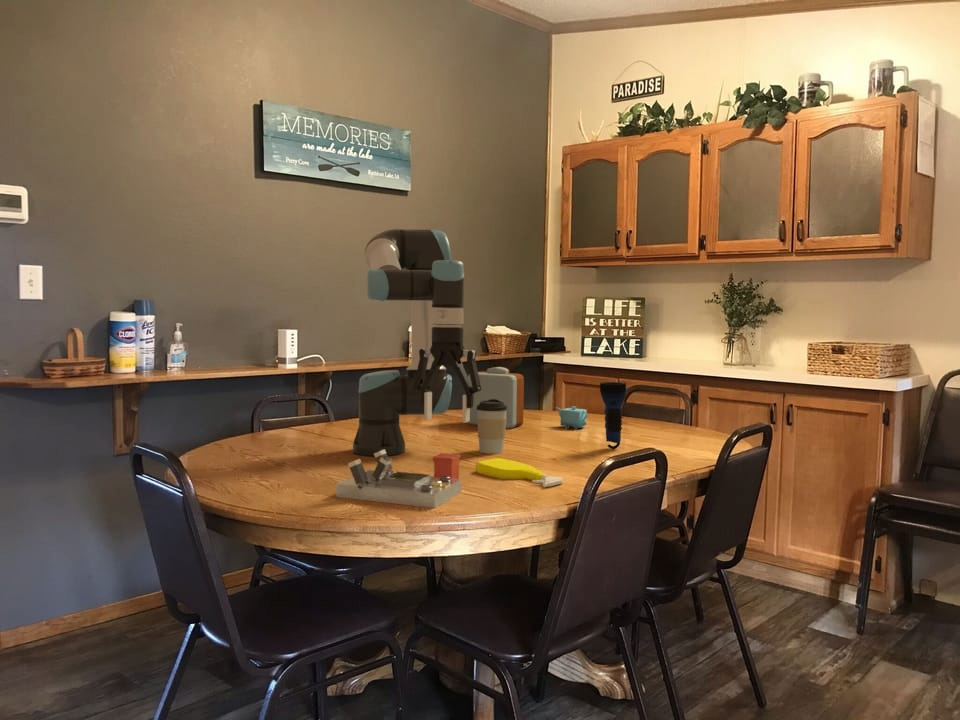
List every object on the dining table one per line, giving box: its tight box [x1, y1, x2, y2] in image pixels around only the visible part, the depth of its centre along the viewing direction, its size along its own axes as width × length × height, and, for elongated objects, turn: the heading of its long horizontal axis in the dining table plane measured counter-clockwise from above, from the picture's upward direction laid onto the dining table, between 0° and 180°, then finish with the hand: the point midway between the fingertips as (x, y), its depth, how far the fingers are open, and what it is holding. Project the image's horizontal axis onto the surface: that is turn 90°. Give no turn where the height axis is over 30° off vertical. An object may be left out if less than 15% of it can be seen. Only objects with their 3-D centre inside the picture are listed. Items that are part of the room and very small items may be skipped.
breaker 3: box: [372, 455, 393, 480], centre depth 178 cm, size 2×2×5 cm
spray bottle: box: [474, 457, 563, 488], centre depth 196 cm, size 3×11×24 cm
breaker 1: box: [347, 458, 368, 484], centre depth 174 cm, size 2×2×5 cm
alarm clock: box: [467, 366, 525, 429], centre depth 276 cm, size 18×9×21 cm, turn 58°
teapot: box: [556, 406, 588, 430], centre depth 273 cm, size 12×6×8 cm, turn 60°
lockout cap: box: [432, 452, 461, 479], centre depth 187 cm, size 5×5×7 cm
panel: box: [335, 469, 462, 509], centre depth 177 cm, size 24×15×4 cm, turn 69°
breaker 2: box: [373, 449, 393, 472], centre depth 185 cm, size 2×2×5 cm
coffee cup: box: [477, 399, 507, 455], centre depth 228 cm, size 9×9×15 cm
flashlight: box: [599, 381, 627, 450], centre depth 234 cm, size 8×8×20 cm
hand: (446, 420), depth 186 cm, fingers open, 9 cm apart
